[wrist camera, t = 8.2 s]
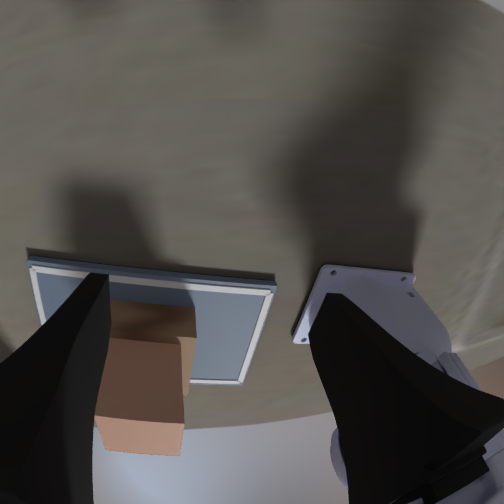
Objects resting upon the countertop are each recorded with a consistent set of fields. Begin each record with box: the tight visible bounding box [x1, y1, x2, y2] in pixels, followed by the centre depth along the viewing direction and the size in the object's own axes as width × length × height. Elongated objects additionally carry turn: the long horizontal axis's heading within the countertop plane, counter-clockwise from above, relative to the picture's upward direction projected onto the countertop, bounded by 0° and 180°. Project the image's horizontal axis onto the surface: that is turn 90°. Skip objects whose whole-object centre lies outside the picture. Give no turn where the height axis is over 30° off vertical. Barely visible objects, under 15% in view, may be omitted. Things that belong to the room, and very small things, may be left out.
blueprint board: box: [27, 255, 277, 385], centre depth 24 cm, size 18×12×1 cm, turn 77°
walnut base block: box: [110, 299, 197, 396], centre depth 22 cm, size 7×7×3 cm
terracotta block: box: [94, 338, 185, 456], centre depth 19 cm, size 5×5×6 cm
